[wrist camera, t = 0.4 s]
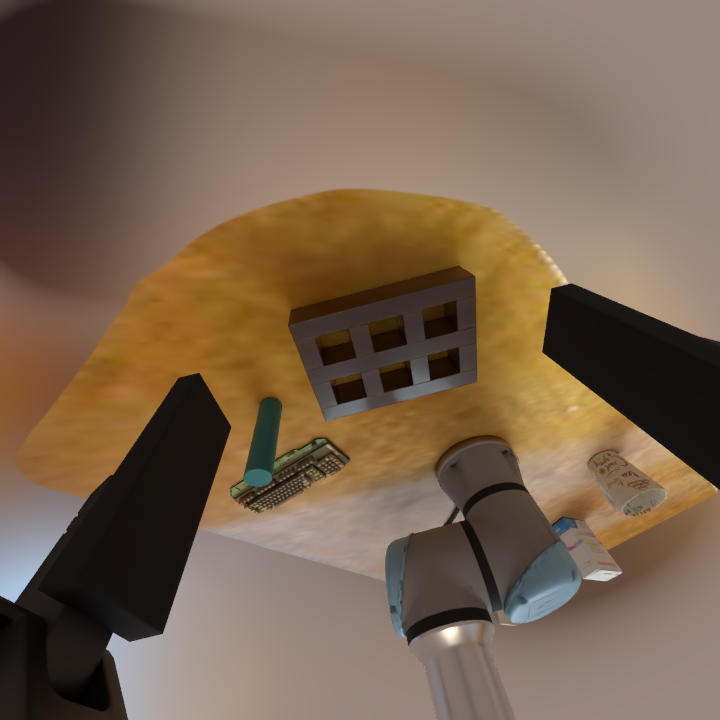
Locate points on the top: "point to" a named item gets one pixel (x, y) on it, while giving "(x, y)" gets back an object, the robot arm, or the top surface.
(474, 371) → the peg board
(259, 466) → the peg
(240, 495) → the keyboard
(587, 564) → the ink box
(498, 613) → the grey box
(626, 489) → the mug
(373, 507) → the top surface
